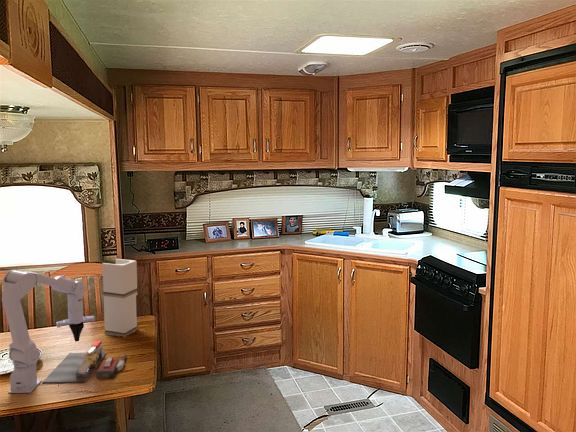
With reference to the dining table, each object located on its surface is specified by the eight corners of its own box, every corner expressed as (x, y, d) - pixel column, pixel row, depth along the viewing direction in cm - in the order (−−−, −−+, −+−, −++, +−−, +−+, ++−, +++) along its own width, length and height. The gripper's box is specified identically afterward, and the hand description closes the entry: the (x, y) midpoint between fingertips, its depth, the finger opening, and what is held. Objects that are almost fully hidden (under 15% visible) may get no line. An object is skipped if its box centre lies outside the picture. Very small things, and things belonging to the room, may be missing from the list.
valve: (86, 378, 184) (86, 366, 183) (74, 379, 184) (74, 366, 183) (104, 354, 206) (104, 343, 205) (94, 354, 205) (94, 343, 205)
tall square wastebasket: (138, 329, 237) (136, 260, 232) (124, 337, 227) (122, 265, 222) (118, 326, 240) (116, 258, 235) (104, 334, 230) (102, 263, 225)
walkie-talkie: (118, 379, 186) (128, 357, 206) (118, 368, 185) (128, 347, 205) (94, 380, 185) (107, 358, 205) (94, 369, 184) (106, 348, 204)
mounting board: (84, 382, 182) (84, 381, 182) (42, 383, 181) (42, 381, 181) (105, 354, 208) (105, 352, 208) (69, 354, 207) (69, 353, 207)
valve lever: (92, 355, 193) (92, 352, 193) (85, 355, 193) (85, 352, 192) (101, 343, 205) (101, 340, 205) (95, 343, 205) (95, 340, 205)
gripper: (58, 314, 190) (59, 347, 191) (96, 308, 198) (97, 339, 200) (54, 310, 195) (56, 341, 197) (92, 304, 204) (93, 334, 205)
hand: (76, 340), depth 199 cm, fingers closed
